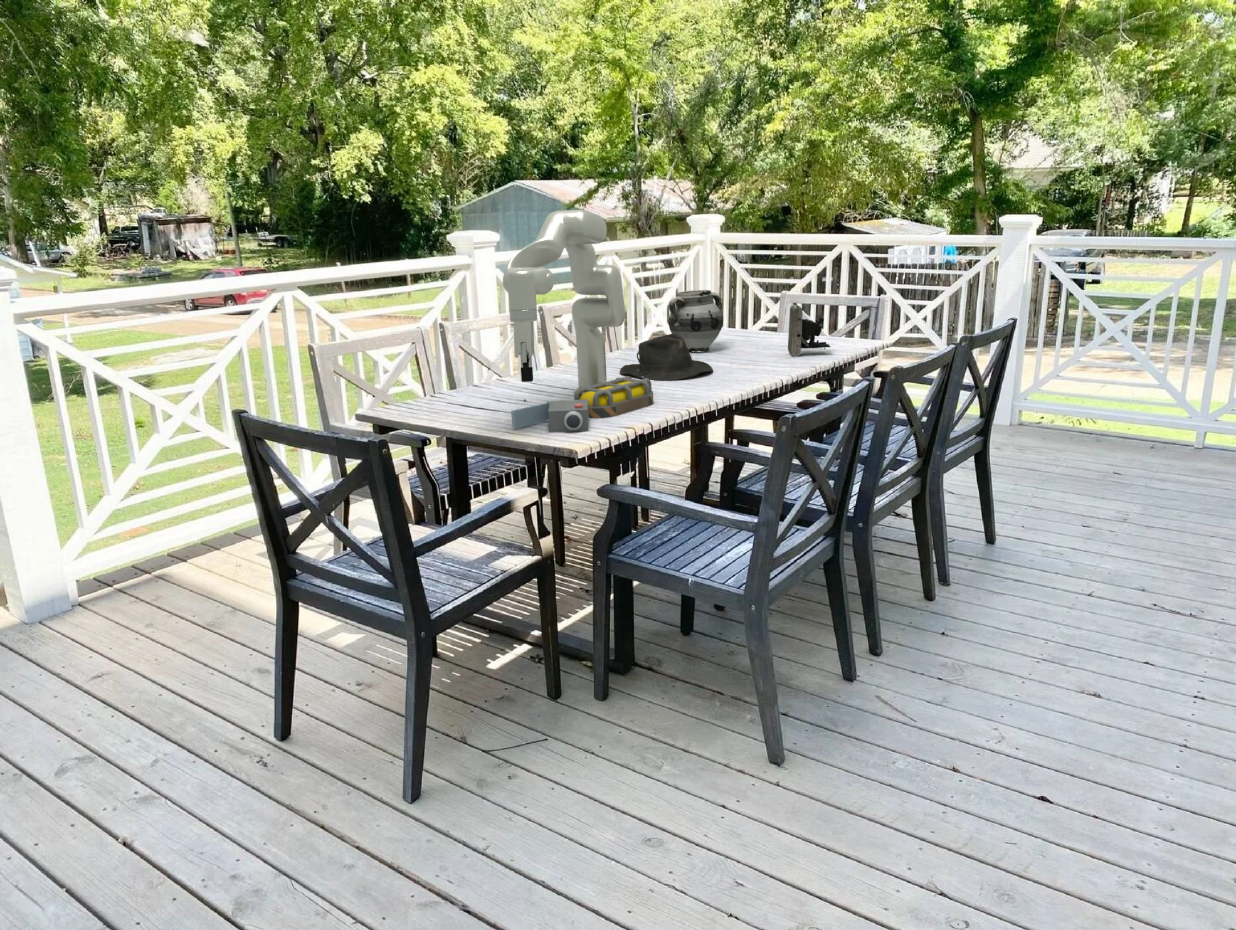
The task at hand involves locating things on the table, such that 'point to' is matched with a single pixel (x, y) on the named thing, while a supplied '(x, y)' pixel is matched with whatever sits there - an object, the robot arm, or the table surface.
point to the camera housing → (568, 415)
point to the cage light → (616, 396)
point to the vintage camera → (803, 332)
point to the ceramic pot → (696, 318)
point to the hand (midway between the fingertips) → (527, 381)
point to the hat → (665, 360)
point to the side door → (530, 415)
